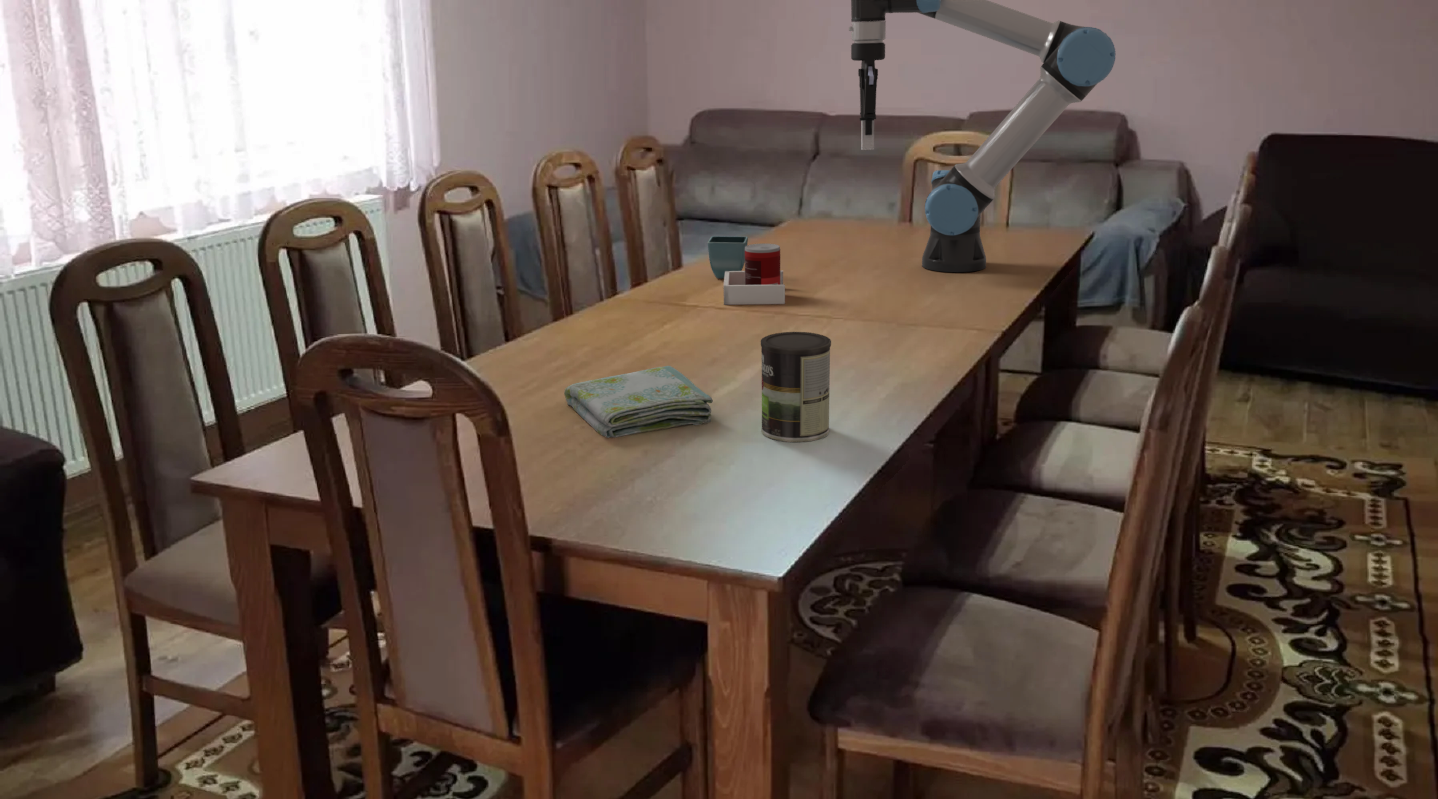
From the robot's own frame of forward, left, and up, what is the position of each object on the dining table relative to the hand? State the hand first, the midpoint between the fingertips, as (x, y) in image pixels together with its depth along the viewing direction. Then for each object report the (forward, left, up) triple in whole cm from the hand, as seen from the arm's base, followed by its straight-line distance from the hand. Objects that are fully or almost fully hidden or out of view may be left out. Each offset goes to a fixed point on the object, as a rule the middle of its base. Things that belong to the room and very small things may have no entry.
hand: (867, 149), depth 290 cm
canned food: (+24, +21, -29) cm, 44 cm away
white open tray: (+26, +21, -29) cm, 44 cm away
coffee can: (+20, +114, -29) cm, 119 cm away
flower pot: (+32, 0, -29) cm, 43 cm away
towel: (+44, +104, -30) cm, 117 cm away
